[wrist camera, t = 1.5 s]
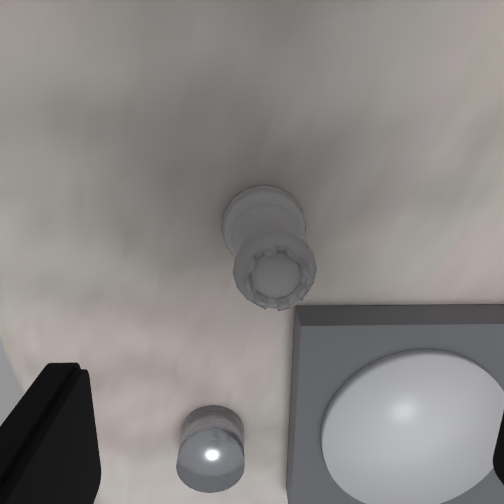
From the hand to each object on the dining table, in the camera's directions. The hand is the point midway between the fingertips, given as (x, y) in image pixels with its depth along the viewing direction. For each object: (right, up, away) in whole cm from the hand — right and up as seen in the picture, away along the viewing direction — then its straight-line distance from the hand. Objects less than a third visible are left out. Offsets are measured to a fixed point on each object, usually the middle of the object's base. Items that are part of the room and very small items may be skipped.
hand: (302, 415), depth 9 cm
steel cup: (-4, -8, +18) cm, 20 cm away
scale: (+8, -6, +18) cm, 21 cm away
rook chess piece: (-1, +5, +14) cm, 15 cm away
